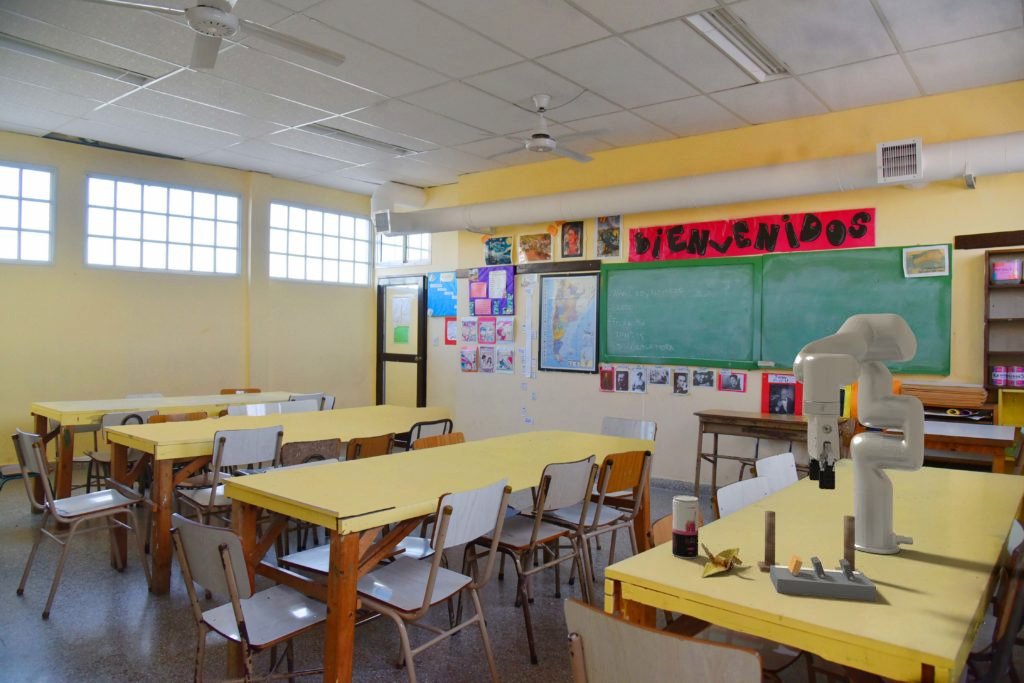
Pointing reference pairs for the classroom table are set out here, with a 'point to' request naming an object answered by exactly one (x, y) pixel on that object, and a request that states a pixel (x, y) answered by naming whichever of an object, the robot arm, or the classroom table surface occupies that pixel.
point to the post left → (769, 543)
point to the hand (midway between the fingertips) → (821, 484)
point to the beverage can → (685, 526)
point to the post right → (849, 542)
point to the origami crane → (721, 561)
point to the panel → (822, 583)
